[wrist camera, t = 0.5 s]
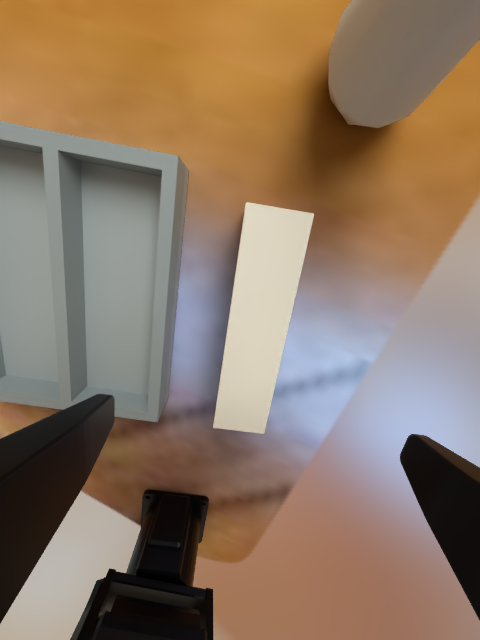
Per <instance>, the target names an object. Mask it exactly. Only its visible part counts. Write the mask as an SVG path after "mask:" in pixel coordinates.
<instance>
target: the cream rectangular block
mask: <svg viewBox="0 0 480 640" xmlns="http://www.w3.org/2000/svg"><path fill="white" fill-rule="evenodd" d="M313 218H314V214H313V213H307V212H301V211H295V210H289V209H283V208H277V207H272V206H266V205H260V204H254V203H248V202H246V205H245V210H244V216H243V223H242V230H241V237H240V243H239V250H238V257H237V264H236V271H235V278H234V284H233V291H232V298H231V305H230V312H229V319H228V326H227V332H226V339H225V346H224V353H223V360H222V367H221V374H220V380H219V387H218V395H217V402H216V409H215V417H214V424H213V428H219V429H228V430H236V431H244V432H253V433H261V434H264V432H265V428H266V423H267V419H268V414H269V410H270V406H271V401H272V397H273V393H274V388H275V384H276V379H277V375H278V371H279V366H280V362H281V358H282V353H283V349H284V344H285V340H286V336H287V331H288V327H289V323H290V318H291V314H292V309H293V305H294V301H295V296H296V292H297V288H298V283H299V279H300V274H301V270H302V266H303V261H304V257H305V253H306V248H307V244H308V239H309V235H310V231H311V226H312V222H313Z"/></svg>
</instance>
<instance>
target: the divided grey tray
mask: <svg viewBox="0 0 480 640" xmlns="http://www.w3.org/2000/svg"><path fill="white" fill-rule="evenodd" d="M188 176H189V170H188V168H187V167H186V166H185V164H184V163H183V162H182V160H181V159H180V158H179V156H176V155H171V154H166V153H161V152H155V151H150V150H145V149H140V148H135V147H130V146H124V145H119V144H114V143H109V142H104V141H99V140H94V139H88V138H83V137H78V136H73V135H68V134H63V133H58V132H52V131H47V130H42V129H37V128H32V127H27V126H21V125H16V124H11V123H6V122H1V121H0V401H2V402H9V403H17V404H24V405H32V406H39V407H47V408H54V409H62V410H64V409H66V408H68V407H70V406H72V405H75V404H77V403H79V402H81V401H83V400H85V399H87V398H90V397H92V396H94V395H96V394H99V393H101V394H109V395H113V396H114V399H115V417H121V418H129V419H136V420H144V421H151V422H158V420H159V417H160V415H161V413H162V411H163V408H164V406H165V404H166V402H167V399H168V394H169V383H170V372H171V362H172V351H173V340H174V329H175V318H176V307H177V296H178V285H179V274H180V263H181V252H182V242H183V231H184V220H185V209H186V198H187V187H188Z"/></svg>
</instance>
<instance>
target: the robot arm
mask: <svg viewBox="0 0 480 640" xmlns="http://www.w3.org/2000/svg"><path fill="white" fill-rule="evenodd" d="M114 418H115V399H114V396H113V395H109V394H101V393H99V394H96V395H94V396H92V397H90V398H87V399H85V400H83V401H81V402H79V403H77V404H75V405H72V406H70V407H68V408H66V409H64V410H62V411H59V412H57V413H55V414H53V415H51V416H49V417H47V418H44V419H42V420H40V421H38V422H36V423H34V424H31V425H29V426H27V427H25V428H23V429H21V430H18V431H16V432H14V433H12V434H10V435H8V436H6V437H3V438H1V439H0V623H1V622H2V620H3V618H4V616H5V615H6V613H7V612H8V610H9V608H10V607H11V605H12V603H13V602H14V600H15V598H16V596H17V595H18V593H19V592H20V590H21V588H22V587H23V585H24V583H25V582H26V580H27V579H28V577H29V575H30V574H31V572H32V570H33V569H34V567H35V565H36V564H37V562H38V560H39V559H40V557H41V555H42V554H43V552H44V550H45V549H46V547H47V545H48V544H49V542H50V540H51V539H52V537H53V535H54V534H55V532H56V531H57V529H58V527H59V525H60V524H61V522H62V521H63V519H64V517H65V516H66V514H67V512H68V511H69V509H70V507H71V506H72V504H73V502H74V500H75V499H76V497H77V496H78V494H79V493H80V491H81V489H82V487H83V486H84V484H85V482H86V480H87V478H88V476H89V474H90V472H91V470H92V468H93V466H94V464H95V462H96V460H97V458H98V456H99V454H100V452H101V450H102V448H103V445H104V443H105V441H106V439H107V437H108V435H109V433H110V431H111V429H112V427H113V424H114ZM400 461H401V464H402V466H403V468H404V471H405V473H406V475H407V477H408V480H409V482H410V484H411V487H412V489H413V491H414V494H415V496H416V498H417V500H418V503H419V505H420V507H421V509H422V511H423V513H424V516H425V518H426V520H427V522H428V524H429V526H430V528H431V530H432V532H433V533H434V535H435V537H436V539H437V541H438V543H439V545H440V547H441V549H442V550H443V552H444V554H445V556H446V558H447V560H448V562H449V563H450V565H451V567H452V569H453V571H454V573H455V575H456V577H457V579H458V581H459V582H460V584H461V586H462V588H463V590H464V592H465V594H466V595H467V598H468V599H469V601H470V603H471V605H472V607H473V609H474V610H475V613H476V614H477V616H478V618H479V620H480V468H479V467H478V466H476V465H474V464H472V463H471V462H469V461H467V460H466V459H464V458H462V457H461V456H459V455H457V454H456V453H454V452H452V451H451V450H449V449H447V448H446V447H444V446H442V445H441V444H439V443H437V442H435V441H434V440H432V439H430V438H429V437H427V436H424V435H417V434H411V435H410V436H408V438H407V440H406V443H405V445H404V447H403V449H402V452H401V454H400ZM208 503H209V499H208V498H207V497H205V496H197V495H189V494H180V493H172V492H163V491H155V490H146V491H145V492H144V495H143V503H142V518H141V530H140V533H139V536H138V539H137V542H136V545H135V548H134V551H133V554H132V557H131V560H130V563H129V566H128V569H127V572H126V573H121V572H116V570H114V569H109V571H108V573H107V575H106V578H103V579H101V580H97V581H96V584H95V586H94V589H93V591H92V594H91V596H90V598H89V601H88V603H87V606H86V608H85V610H84V612H83V614H82V616H81V618H80V621H79V622H78V625H77V627H76V629H75V631H74V633H73V635H72V637H71V639H70V640H213V589H209V588H206V589H202V588H197V587H193V580H194V572H195V564H196V557H197V550H198V543H200V542H201V541H202V537H203V531H204V526H205V520H206V515H207V509H208Z"/></svg>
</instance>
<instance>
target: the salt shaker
mask: <svg viewBox="0 0 480 640" xmlns="http://www.w3.org/2000/svg"><path fill="white" fill-rule="evenodd" d="M479 40H480V0H352V1H351V2H350V3H349V5H348V6H347V8H346V9H345V10H344V12H343V13H342V16H341V19H340V22H339V25H338V28H337V31H336V33H335V36H334V39H333V42H332V45H331V48H330V52H329V75H328V86H329V94H330V100H331V101H332V102H333V104H334V105H335V107H336V108H337V109H338V111H339V112H340V114H341V115H342V116H343V118H344V119H345V121H346V122H347V124H348V125H361V126H368V127H374V128H380V127H383V126H385V125H388V124H390V123H393V122H396V121H398V120H401V119H403V118H405V117H407V116H409V115H410V114H411V113H412V112H413V111H414V110H415V109H416V108H417V107H418V106H419V105H420V104H421V103H422V102H423V101H424V100H425V99H426V98H427V97H428V96H429V95H430V94H431V93H432V92H433V91H434V90H435V88H436V87H437V86H438V85H439V84H440V83H441V82H442V81H443V80H444V78H445V77H446V76H447V75H448V74H449V73H450V72H451V71H452V70H453V68H454V67H455V66H456V65H457V64H458V63H459V62H460V61H461V59H462V58H463V57H464V56H465V55H466V54H467V53H468V52H469V51H470V49H471V48H472V47H473V46H474V45H475V44H476V43H477V42H478V41H479Z"/></svg>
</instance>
